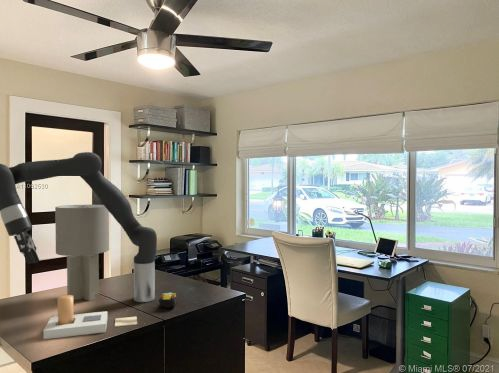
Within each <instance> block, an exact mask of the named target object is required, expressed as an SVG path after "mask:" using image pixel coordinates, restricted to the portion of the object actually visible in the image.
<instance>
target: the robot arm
mask: <svg viewBox="0 0 499 373" xmlns="http://www.w3.org/2000/svg"><path fill="white" fill-rule="evenodd" d="M102 162H103V161H102V159H101V157H100V155H98V154H96V153H94V152H90V151H86V152H85V151H83V152H77V153H76V154H74V155H73V156H72V157H68V158H61V159H49V160H48V159H47V160H45V159H44V160H35V161H34V160H33V161H27V162H26V161H25V162H21V163H18V164H16V165H14V166H11V167H9V166H8V165H5V164H3V163H0V218H1V220H2V222H3V225H4V227H5V229H6V233H7V234H8V236H9V237H14V238H13V239H14V240H15V243H16V245H17V248H18V250H19V252H20V253H21V254H22V255H23V257H24V259H25V262H26V264H27V265H31V264H36V263H38V262H39V261H40V257H39V256H38V252H37V246H36V244H35V242H34V240H33V237H32V235H31V234H28V231H30V230H32V229H33V224H32V222H31V220H30V217H29V215H28V213H27V210H26V209H25V207H24V205H23V203H22V200H21V198H20V196H19V194H18V191H17V186H16V185H17V184H21V183H26V182H27V183H28V182H33V181H35V182H36V181H39V180H40V181H41V180H46V179H51V178H55V177H56V178H57V177H62V176H69V175H78V176H79V177H80V178H81V179H82V180H83V181H84V182H85V183H86V184H87V185H88V186H89V187H90V189H91V190H92V191H93V193H94V194H95V196H96V197H97V198H98V199H99V200H100V202H101V203H102V205H104V206H105V207H106V209H107V210H108V211H109V214H110V215H111V216H112V217H113V218H114V220H116V222H117V223H118V224H119V225H120V226H121V228H122V229H123V231H124V232H125V234H126V235H127V237H128V238H129V240H130V242H131V243H132V244H133V245H135V246H136V247H138V252H137V254H135V255H134V257H133V301H134V302H137V303H147V302H152V301H154V300H155V298H156V297H155V296H156V292H155V291H156V290H155V289H156V288H155V287H156V283H155V282H156V281H155V280H156V271H155V266H156V264H155V263H156V262H155V261H156V260H155V259H156V257H157V251H158V250H157V249H158V248H157V246H158V245H157V243H158V235H157V233H156V230H155V229H154V228H151V227H147V226H146V227H145V226H144V225H142V224H141V222H139V221H138V220H137V219H136V217H135V215H134V213H133V209H132V206H131V202H129V200H128V198H127V197H126V195H125V194H124V193H123V192H122V191H121V190H120V188H118V187H117V186H116V185H115V184H113V183H112V182H111V181H109V180H108V178H106V176H104V175H103V173H102V172H101V171H100V170H101V169H102V164H103V163H102Z"/></svg>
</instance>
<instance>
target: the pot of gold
mask: <svg viewBox="0 0 499 373" xmlns="http://www.w3.org/2000/svg"><path fill="white" fill-rule="evenodd" d="M177 299H178V294H177V293H176V292H174V293H173V292H165V293H161V297H160V298H159V299H158V303H159V307H163V309H168V308H169V309H170V308H172V307H173V306H176V303H177V301H178V300H177Z"/></svg>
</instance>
